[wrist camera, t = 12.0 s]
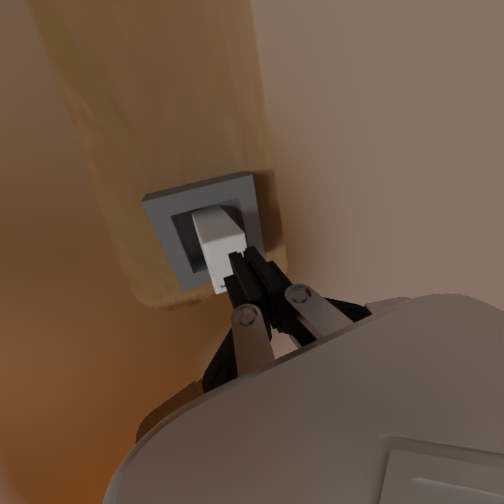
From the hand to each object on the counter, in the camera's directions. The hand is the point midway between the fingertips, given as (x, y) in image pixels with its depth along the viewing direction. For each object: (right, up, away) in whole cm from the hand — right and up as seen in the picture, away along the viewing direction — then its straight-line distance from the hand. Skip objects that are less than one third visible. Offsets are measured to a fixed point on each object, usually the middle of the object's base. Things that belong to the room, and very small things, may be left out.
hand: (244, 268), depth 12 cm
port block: (-6, +5, +17) cm, 19 cm away
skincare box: (-6, +5, +17) cm, 18 cm away
